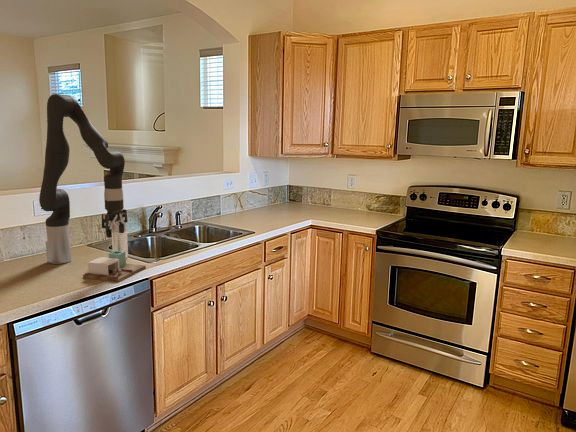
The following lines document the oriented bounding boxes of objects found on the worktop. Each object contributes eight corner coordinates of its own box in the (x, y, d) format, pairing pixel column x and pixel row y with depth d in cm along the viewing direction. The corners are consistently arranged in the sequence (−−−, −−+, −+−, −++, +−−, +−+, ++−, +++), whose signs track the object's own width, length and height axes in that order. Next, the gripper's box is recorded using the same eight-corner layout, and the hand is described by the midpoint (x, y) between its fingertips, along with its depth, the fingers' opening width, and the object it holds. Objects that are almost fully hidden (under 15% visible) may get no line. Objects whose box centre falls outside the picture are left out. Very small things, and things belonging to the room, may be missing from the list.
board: (83, 277, 181) (82, 263, 180) (112, 264, 199) (112, 251, 198) (118, 282, 177) (117, 267, 176) (145, 268, 195) (145, 254, 194)
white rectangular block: (88, 273, 181) (87, 262, 180) (101, 268, 189) (100, 257, 188) (107, 276, 179) (106, 264, 178) (119, 270, 186) (119, 259, 186)
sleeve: (109, 266, 192) (108, 253, 191) (116, 263, 197) (115, 250, 195) (119, 267, 191) (118, 254, 189) (126, 264, 195) (125, 251, 194)
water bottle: (113, 256, 212) (110, 205, 207) (128, 255, 214) (125, 204, 209) (112, 260, 206) (109, 207, 201) (128, 258, 208) (125, 207, 203)
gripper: (116, 195, 196) (118, 230, 199) (95, 200, 182) (97, 238, 185) (131, 196, 194) (132, 232, 197) (110, 201, 180) (112, 239, 183)
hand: (115, 235), depth 191 cm, fingers open, 8 cm apart
